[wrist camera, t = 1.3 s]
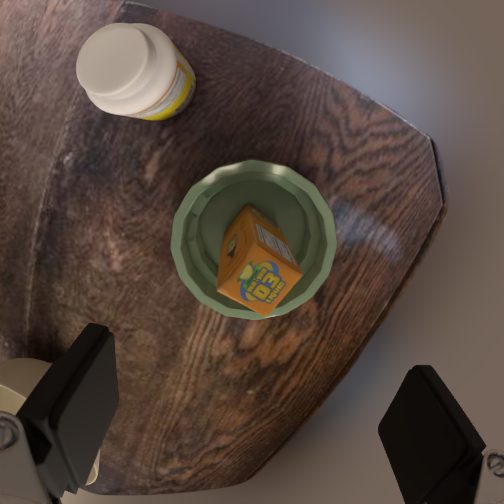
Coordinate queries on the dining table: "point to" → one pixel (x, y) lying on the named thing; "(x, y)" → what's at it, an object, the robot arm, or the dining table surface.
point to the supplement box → (256, 262)
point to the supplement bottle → (135, 72)
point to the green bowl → (268, 202)
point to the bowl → (26, 389)
